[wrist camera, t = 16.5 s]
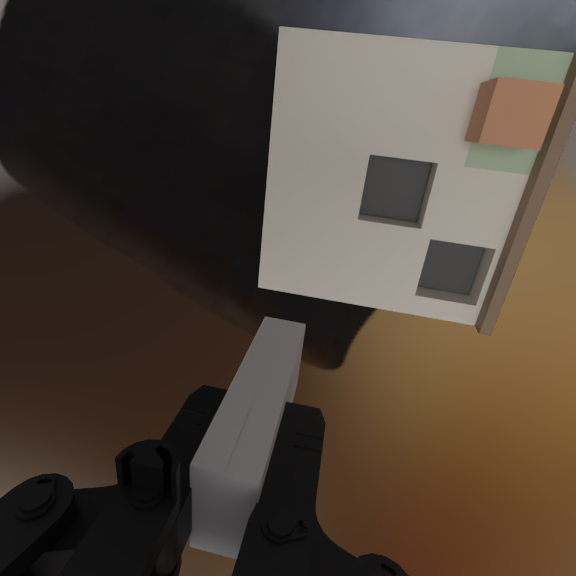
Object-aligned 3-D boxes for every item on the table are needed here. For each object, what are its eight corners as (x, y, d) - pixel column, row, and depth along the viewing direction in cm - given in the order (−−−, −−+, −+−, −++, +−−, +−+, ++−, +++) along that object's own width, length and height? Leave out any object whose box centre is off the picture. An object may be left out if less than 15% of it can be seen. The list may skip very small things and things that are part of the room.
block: (480, 83, 28) (498, 76, 24) (538, 89, 27) (564, 83, 24) (464, 140, 29) (478, 143, 26) (517, 147, 29) (539, 150, 25)
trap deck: (285, 33, 31) (275, 21, 27) (571, 59, 28) (602, 50, 25) (263, 277, 40) (254, 293, 36) (478, 315, 37) (490, 335, 34)
